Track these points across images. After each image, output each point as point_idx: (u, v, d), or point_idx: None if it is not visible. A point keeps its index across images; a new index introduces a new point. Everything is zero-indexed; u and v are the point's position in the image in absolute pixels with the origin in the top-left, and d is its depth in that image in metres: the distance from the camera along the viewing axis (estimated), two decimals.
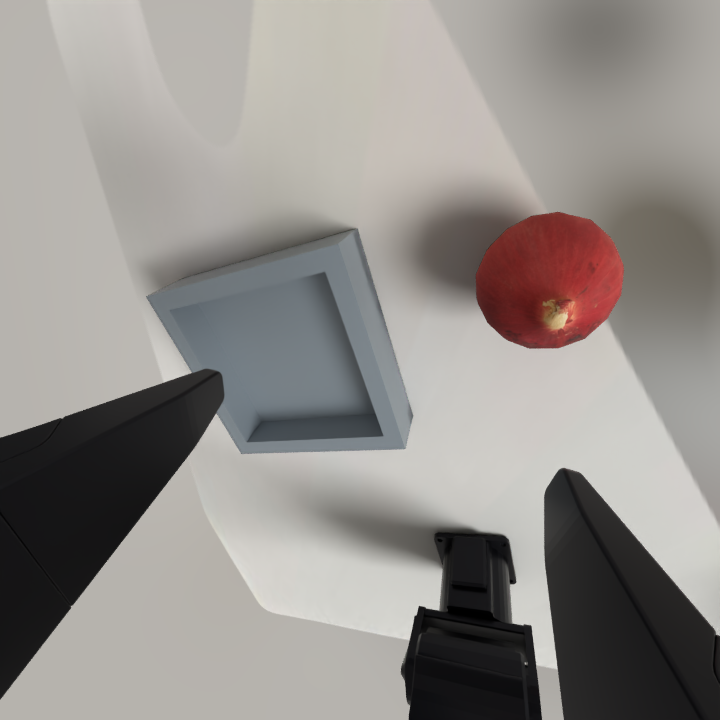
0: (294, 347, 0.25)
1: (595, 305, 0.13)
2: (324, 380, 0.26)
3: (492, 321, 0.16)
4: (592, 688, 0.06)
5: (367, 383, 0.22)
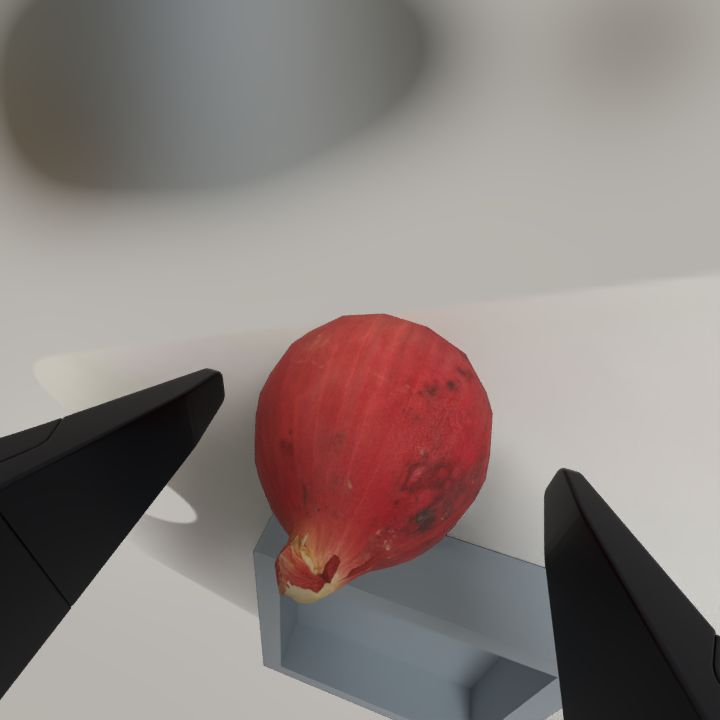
0: None
1: (347, 485, 0.06)
2: None
3: None
4: (592, 688, 0.06)
5: (446, 634, 0.14)
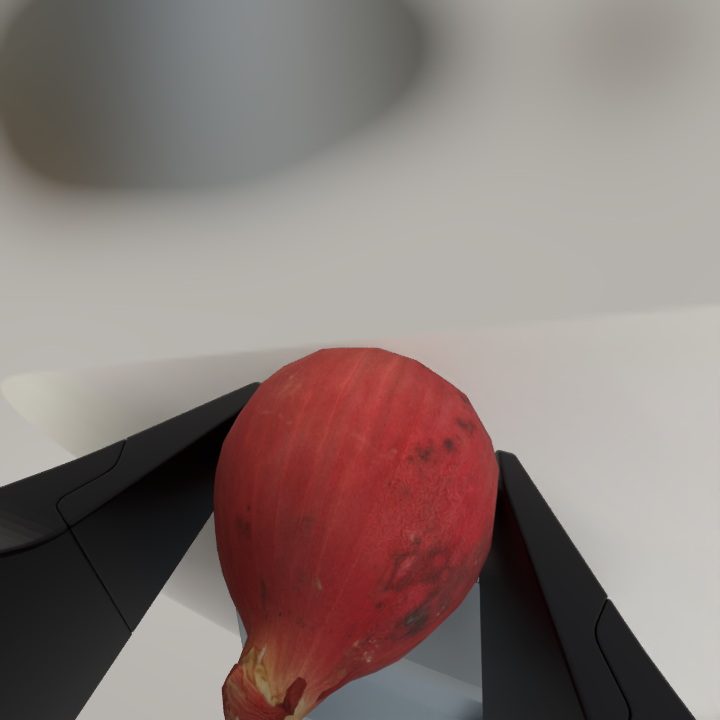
0: None
1: (316, 586, 0.05)
2: None
3: None
4: (502, 655, 0.06)
5: (444, 686, 0.13)
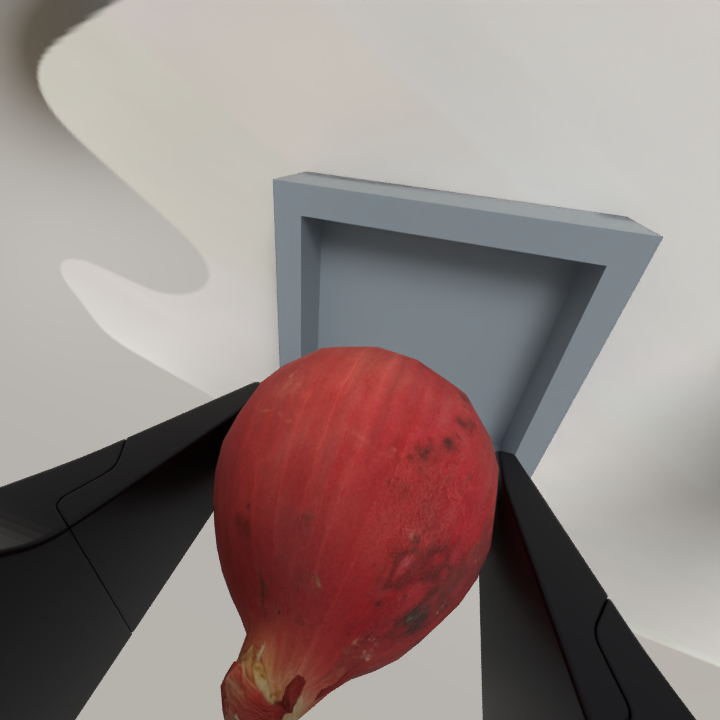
0: (412, 331, 0.19)
1: (314, 583, 0.05)
2: (477, 321, 0.18)
3: None
4: (502, 655, 0.06)
5: (483, 241, 0.13)
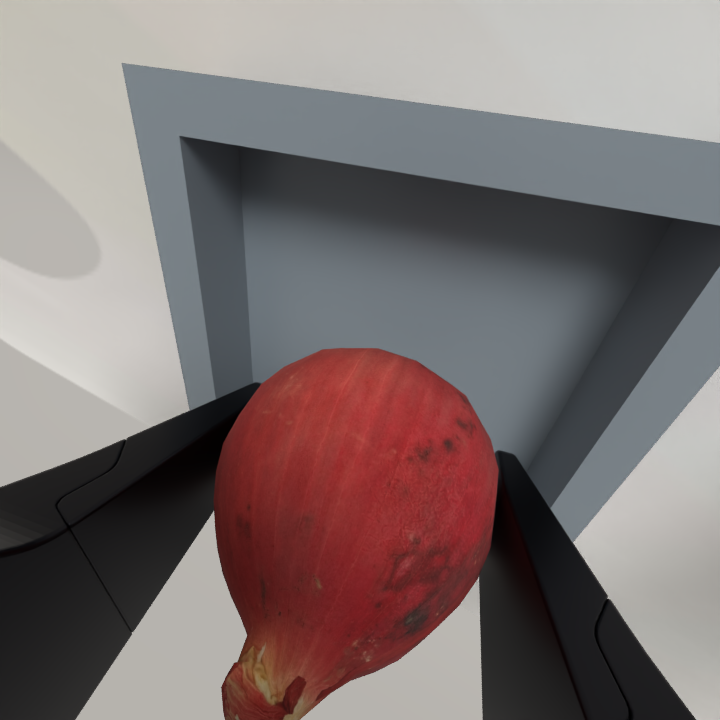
0: (384, 340, 0.13)
1: (315, 585, 0.05)
2: (482, 328, 0.11)
3: None
4: (502, 655, 0.06)
5: (502, 180, 0.07)
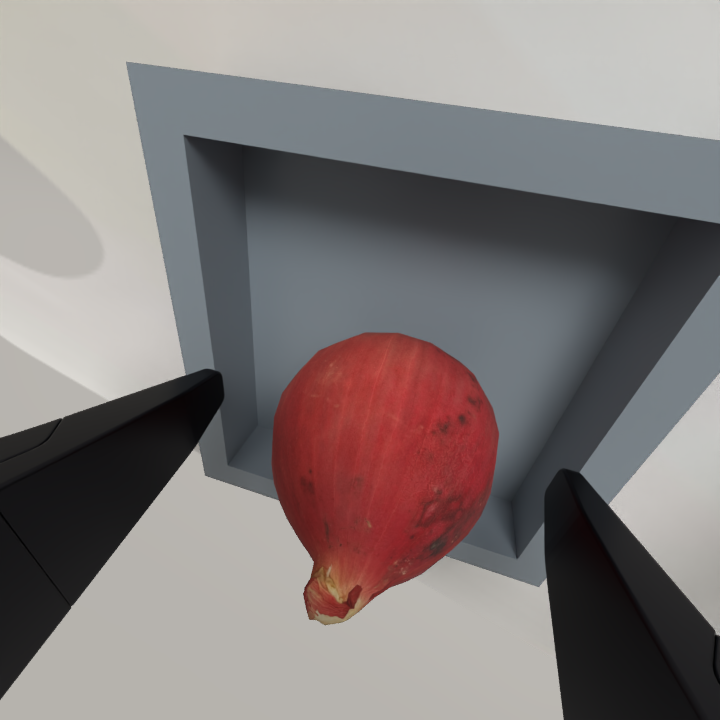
0: None
1: (366, 525, 0.07)
2: (485, 328, 0.11)
3: None
4: (592, 688, 0.06)
5: (507, 178, 0.07)
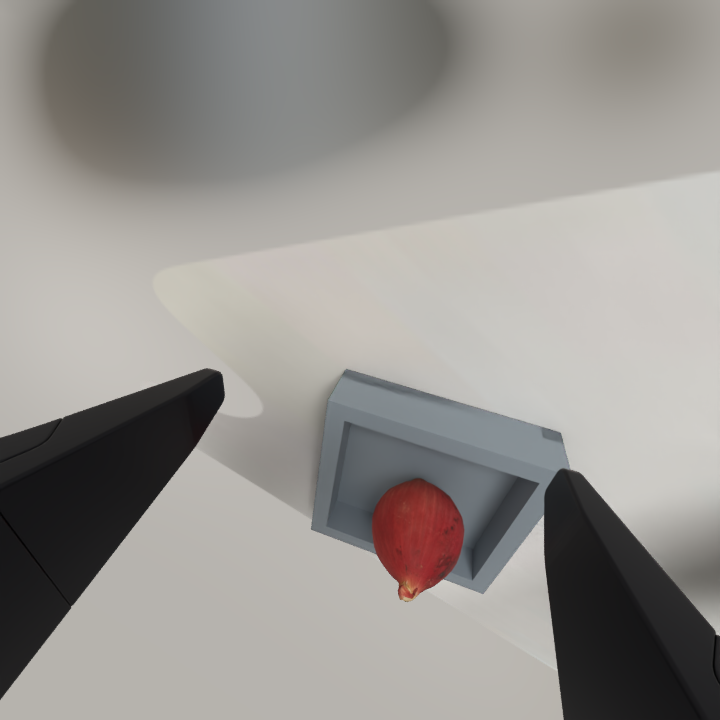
0: (413, 474, 0.26)
1: (420, 566, 0.20)
2: (459, 476, 0.25)
3: None
4: (592, 688, 0.06)
5: (463, 456, 0.21)
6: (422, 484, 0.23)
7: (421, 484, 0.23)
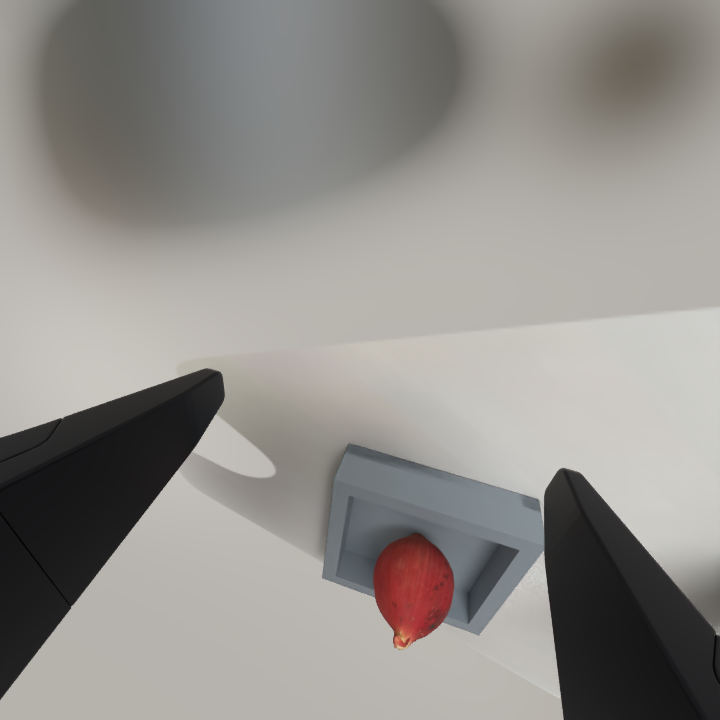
0: (412, 530, 0.29)
1: (412, 618, 0.23)
2: (452, 534, 0.28)
3: None
4: (592, 688, 0.06)
5: (453, 527, 0.24)
6: (417, 541, 0.26)
7: (416, 541, 0.26)
